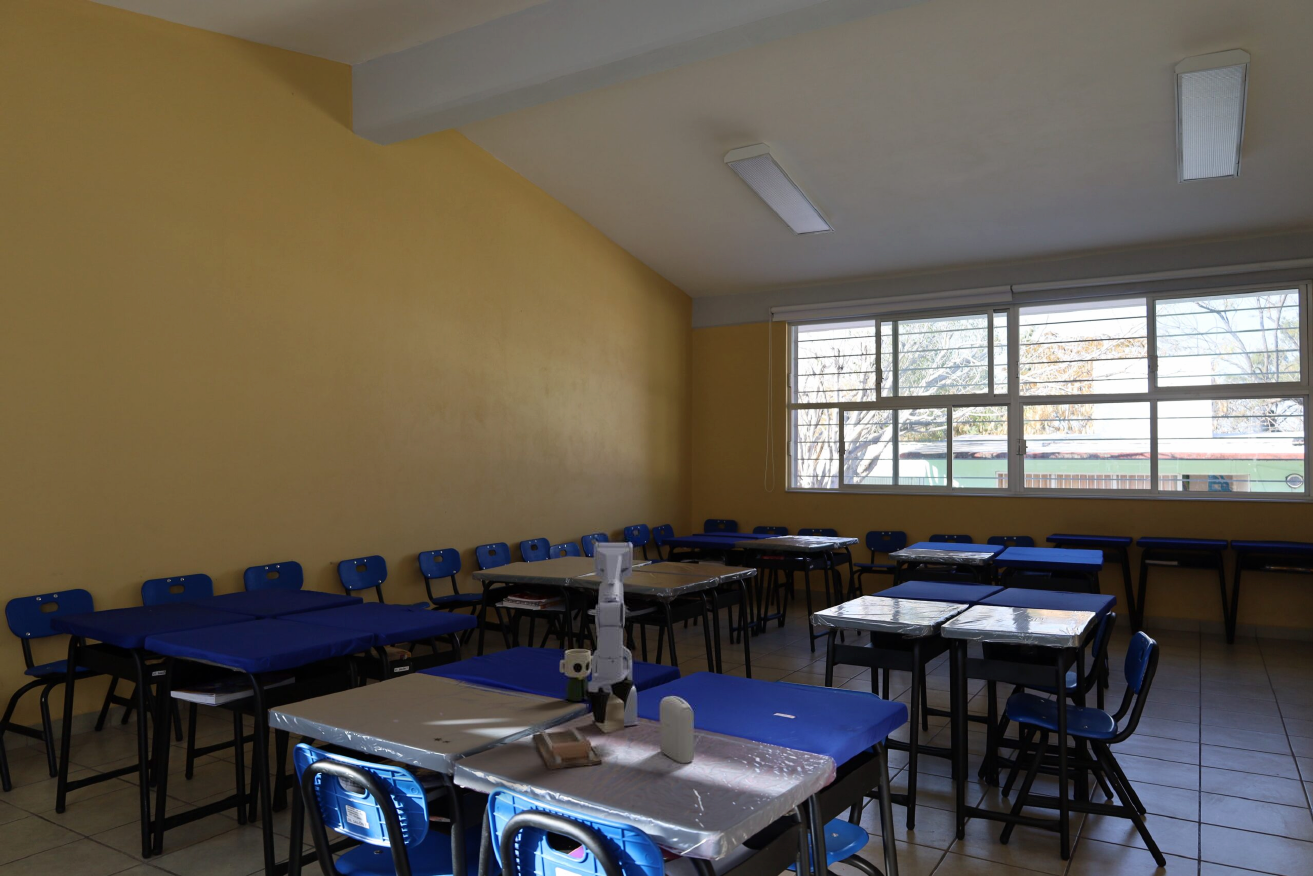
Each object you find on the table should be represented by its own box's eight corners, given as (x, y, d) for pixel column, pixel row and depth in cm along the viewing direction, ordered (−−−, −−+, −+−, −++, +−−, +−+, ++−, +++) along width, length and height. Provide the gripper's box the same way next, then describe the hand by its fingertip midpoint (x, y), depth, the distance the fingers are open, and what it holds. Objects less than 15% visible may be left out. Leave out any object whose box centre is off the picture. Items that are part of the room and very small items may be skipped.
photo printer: (657, 750, 176) (657, 693, 176) (674, 748, 177) (674, 691, 178) (678, 765, 166) (678, 704, 167) (696, 762, 168) (696, 702, 169)
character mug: (565, 705, 212) (566, 656, 213) (553, 700, 218) (553, 651, 219) (601, 699, 218) (601, 651, 219) (588, 694, 224) (588, 647, 225)
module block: (614, 721, 183) (613, 694, 184) (624, 729, 177) (623, 702, 177) (595, 723, 182) (595, 696, 182) (604, 732, 175) (604, 704, 175)
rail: (573, 731, 187) (573, 726, 187) (594, 760, 167) (594, 754, 167) (539, 734, 184) (539, 729, 185) (556, 764, 165) (556, 758, 165)
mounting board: (579, 733, 188) (579, 730, 188) (601, 764, 167) (601, 760, 167) (532, 738, 184) (532, 734, 184) (549, 769, 164) (549, 765, 164)
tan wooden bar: (588, 752, 172) (588, 740, 172) (590, 755, 170) (591, 743, 170) (551, 756, 169) (552, 744, 169) (553, 759, 167) (553, 747, 168)
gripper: (611, 648, 188) (611, 707, 187) (576, 660, 176) (576, 723, 175) (637, 651, 185) (637, 711, 184) (604, 663, 172) (603, 728, 171)
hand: (609, 717), depth 179 cm, fingers closed on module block, 7 cm apart
